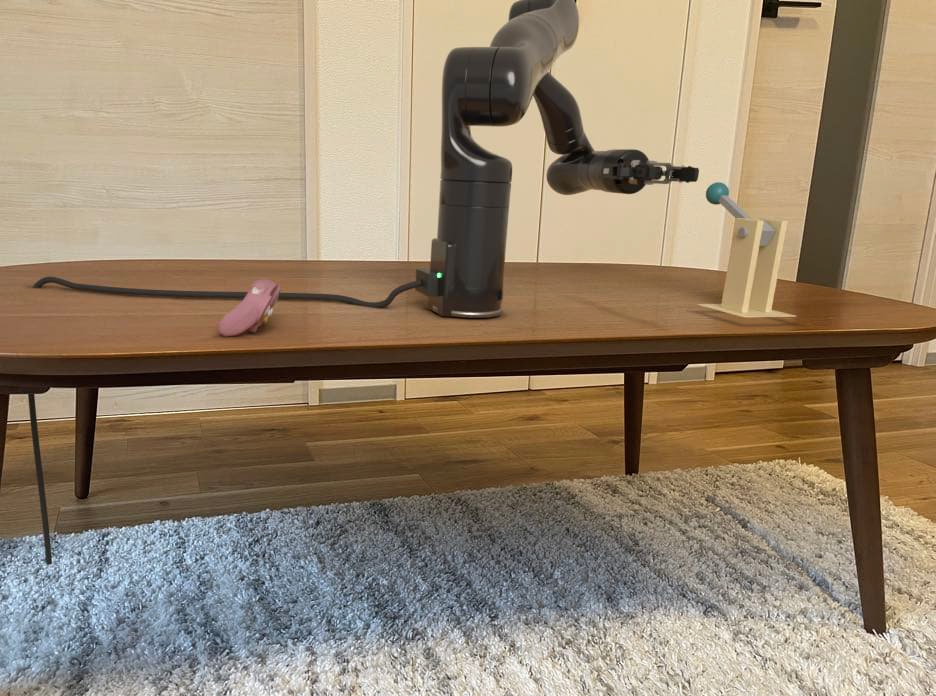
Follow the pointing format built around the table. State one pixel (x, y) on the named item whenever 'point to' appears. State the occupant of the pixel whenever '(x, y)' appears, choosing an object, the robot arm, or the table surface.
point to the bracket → (752, 270)
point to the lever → (735, 208)
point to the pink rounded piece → (251, 309)
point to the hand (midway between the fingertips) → (674, 173)
